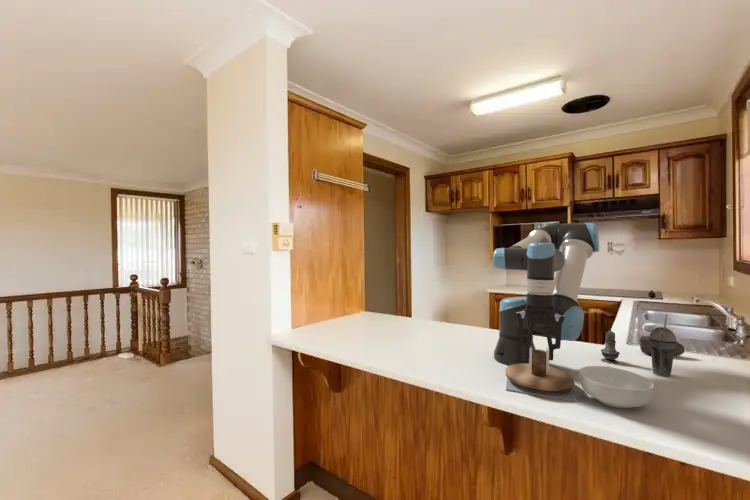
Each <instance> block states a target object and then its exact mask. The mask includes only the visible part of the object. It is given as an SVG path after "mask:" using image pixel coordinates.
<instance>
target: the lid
mask: <svg viewBox="0 0 750 500" xmlns="http://www.w3.org/2000/svg"><path fill="white" fill-rule="evenodd" d="M505 376H506V379H507V378H508V379H510V380H511V381H513V382H515V383H517V384H519V385H522V386H525V387H528V388H533V389H537V390H544V391H565V390H569V389H571V388H572V389H573V388H574V387H575V378H574V377H573V375H571V374H570V373H568V372H566V371H564V370H561V369H559V368H556V367H552V366H549V372H546V350H543V349H538V348H537V349H536V348H535V349H534V350H532V370H530V369H529V364H527V363H522V364H513V365H507V367H506V368H505Z"/></svg>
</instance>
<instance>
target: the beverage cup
mask: <svg viewBox="0 0 750 500" xmlns="http://www.w3.org/2000/svg"><path fill="white" fill-rule="evenodd" d="M667 320H668V314H665V315H664V321H663V322H664V323H663V327H662V326H661V327H660V326H658V327H656V328H653V329H652V330H651V331H650V333H649V335H648V336H649V341H650V345H651V354H650V355H651V367H652V373H653V374H654V375H656V376H659V377H662V378H669V377H670V378H671V375H672V370H673V363H674V357H675V356H674V349H675V347H676V343H677V342H678V341H677V337H676V335H675V333H674V331H672V330H670V329H669V328H668V327H667Z"/></svg>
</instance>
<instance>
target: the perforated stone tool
mask: <svg viewBox="0 0 750 500" xmlns="http://www.w3.org/2000/svg"><path fill="white" fill-rule="evenodd" d="M649 336H650V335H641V336H640V338H639V339H638V340H639V341H638V342H639V346H640V347H639V348H640V350H641V352H642V353H643V354H647V355H651V345H650V341H649ZM685 350H686V349H685V346H684V345H683V344H682V343H680V342H678V341H677V343H676V347H675V349H674V356H673V357H678V356H681V355H683V354H684V353H685Z"/></svg>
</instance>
